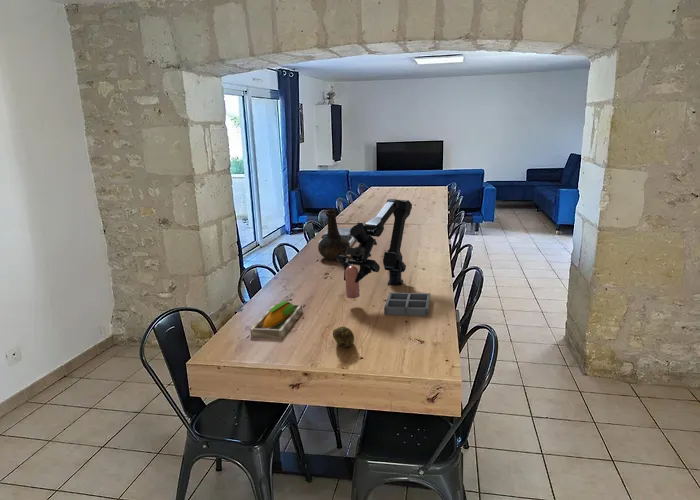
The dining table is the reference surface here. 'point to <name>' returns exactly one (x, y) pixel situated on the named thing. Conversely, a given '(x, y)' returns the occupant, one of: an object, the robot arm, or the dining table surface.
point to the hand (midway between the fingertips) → (350, 281)
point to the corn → (279, 314)
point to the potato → (343, 336)
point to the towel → (341, 233)
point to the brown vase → (333, 240)
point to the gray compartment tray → (407, 304)
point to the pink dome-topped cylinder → (351, 282)
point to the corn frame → (275, 333)
